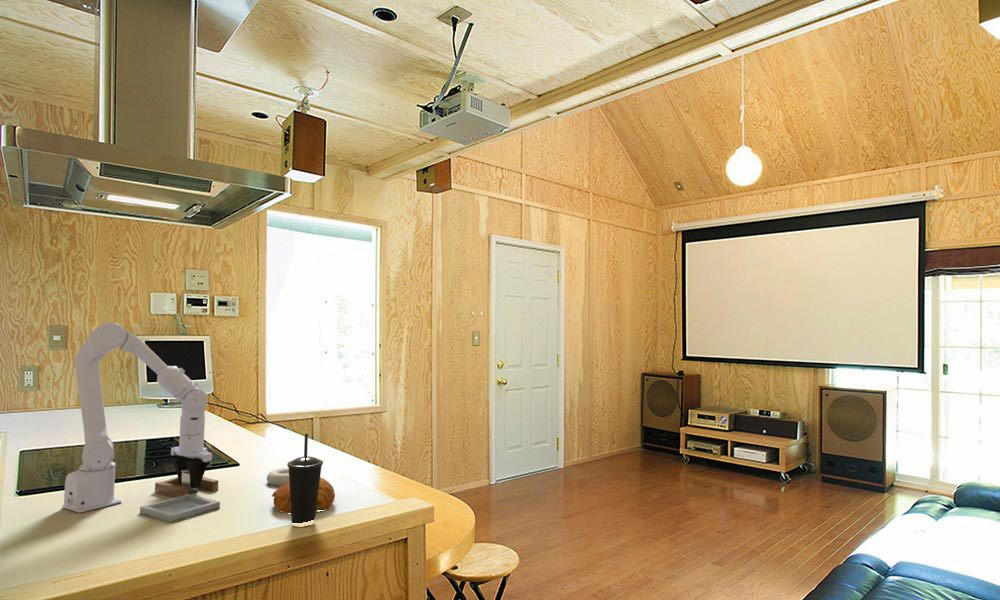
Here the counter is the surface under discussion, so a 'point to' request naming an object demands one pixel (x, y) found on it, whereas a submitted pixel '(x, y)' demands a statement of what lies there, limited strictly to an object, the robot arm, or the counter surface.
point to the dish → (179, 507)
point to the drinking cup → (304, 486)
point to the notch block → (175, 489)
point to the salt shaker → (187, 481)
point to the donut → (278, 476)
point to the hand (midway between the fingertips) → (189, 485)
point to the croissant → (323, 500)
